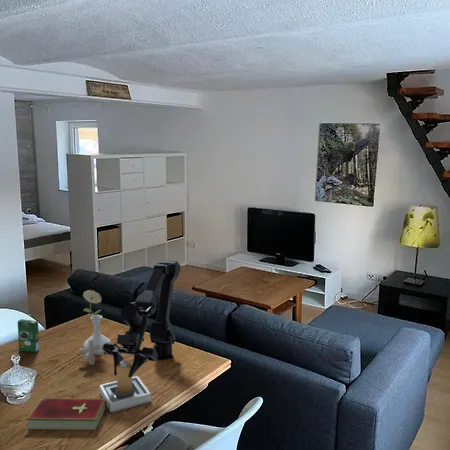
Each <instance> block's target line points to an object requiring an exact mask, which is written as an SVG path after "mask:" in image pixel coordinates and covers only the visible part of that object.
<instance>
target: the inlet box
mask: <svg viewBox="0 0 450 450" xmlns="http://www.w3.org/2000/svg"><path fill="white" fill-rule="evenodd" d="M132 386H133V387H134V390H135V394H134V395H133V396H129V397H125V398H121V399H120V398H117V397H116V396H115V390H116V388H117V380H114V381H111V382H107V383H103V384H99V394H100V396H101V399H106V404H107V409H108V410H109V412H110V413H111V412H112V413H115V412H119V411H122V410H127V409H130V408H134V407H137V406H140V405H141V406H142V405H144V404H149V403H151V402H152V396H151V395H152V393H151V392H150V391H149V389H148V388H147V386H146V385H145V384H144V382H143V381H142V380H141V378H140V377H139V376H138V375H135V376H132Z"/></svg>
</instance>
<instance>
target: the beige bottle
mask: <svg viewBox="0 0 450 450" xmlns="http://www.w3.org/2000/svg"><path fill="white" fill-rule="evenodd" d="M131 367H132V364H131V363H129V362H128V360H123V361H121V362H120V364H119V365H117V367H116V370H117V375H116V381H117V388H116V390H115V396H116V397H117V398H120V399H121V398H125V397H129V396H133V395H134V394H135V390H134V387H133V386H132V377H133V376H132V377H131V378H129V373H130V370H131Z"/></svg>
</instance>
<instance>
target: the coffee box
mask: <svg viewBox="0 0 450 450" xmlns="http://www.w3.org/2000/svg"><path fill="white" fill-rule="evenodd" d="M17 334H18V335H17V336H18V351H19V352H27V353H37V352H39V351H40V337H39V335H40V334H39V320H31V319H20V320H17Z"/></svg>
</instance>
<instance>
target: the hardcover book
mask: <svg viewBox="0 0 450 450" xmlns="http://www.w3.org/2000/svg"><path fill="white" fill-rule="evenodd" d="M106 408H107V409H108V407H107V404H106V399H103V398H46V397H45V398H40V400H39V401H38V402H37V404H36V405H35V407H34V408H33V409H32V410H31V412H30V414H29V415H28V416H27V418H26V421H28V422H27V423H28V430H90V431H91V430H94V431H95V430H96V429H98V428H97V427H98V425H99V423H100V422H101V419H102V417H103V414H104V413H105V410H107V409H106Z"/></svg>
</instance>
